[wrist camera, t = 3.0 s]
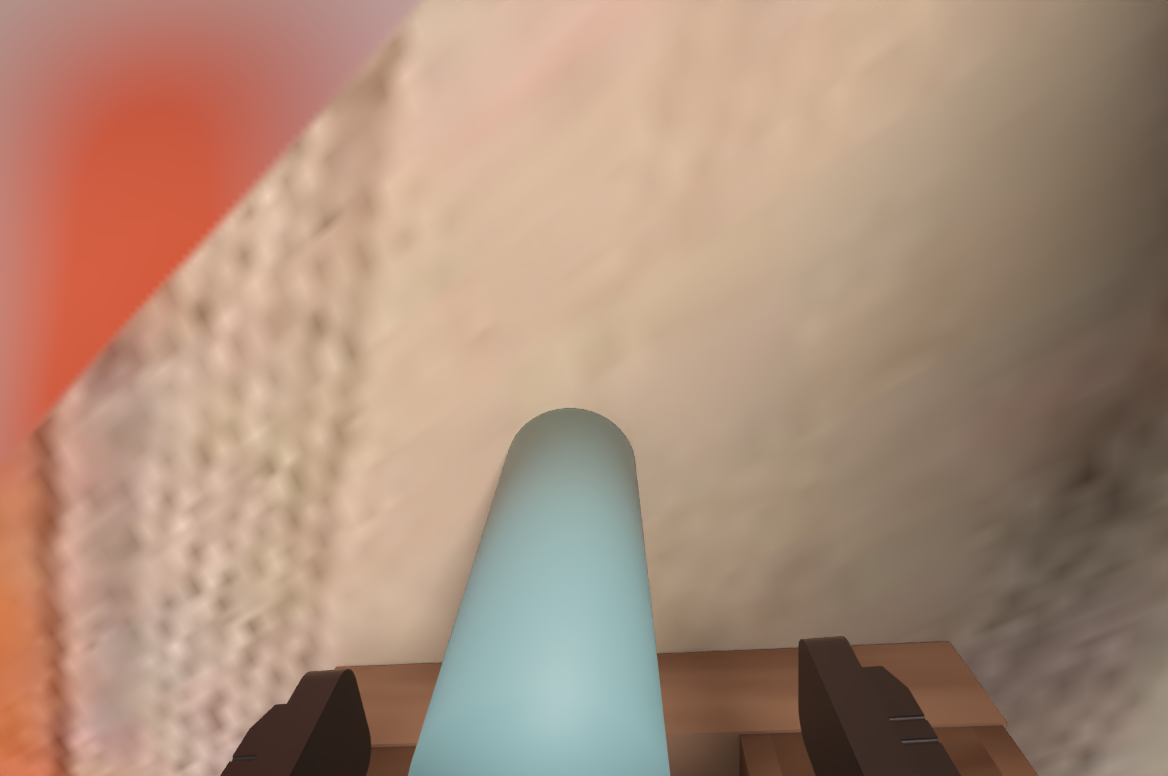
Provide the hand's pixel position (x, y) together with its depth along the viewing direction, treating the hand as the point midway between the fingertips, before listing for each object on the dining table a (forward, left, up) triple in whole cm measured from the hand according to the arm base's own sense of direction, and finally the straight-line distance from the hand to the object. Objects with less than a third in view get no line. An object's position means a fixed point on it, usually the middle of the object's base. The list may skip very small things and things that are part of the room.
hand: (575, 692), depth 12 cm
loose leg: (-1, 0, -7) cm, 7 cm away
